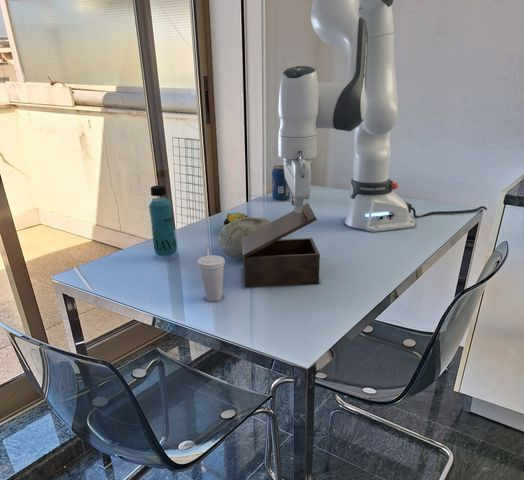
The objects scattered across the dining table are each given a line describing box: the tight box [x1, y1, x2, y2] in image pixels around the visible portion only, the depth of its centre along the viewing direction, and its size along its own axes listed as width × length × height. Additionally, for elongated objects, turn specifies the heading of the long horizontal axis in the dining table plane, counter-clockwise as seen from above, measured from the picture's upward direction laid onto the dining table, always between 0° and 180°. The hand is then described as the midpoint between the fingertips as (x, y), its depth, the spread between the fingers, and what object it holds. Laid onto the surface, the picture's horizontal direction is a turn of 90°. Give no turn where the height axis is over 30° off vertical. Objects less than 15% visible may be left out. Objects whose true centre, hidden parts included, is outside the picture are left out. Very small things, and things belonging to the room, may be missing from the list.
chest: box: [242, 237, 321, 289], centre depth 129 cm, size 19×12×8 cm, turn 94°
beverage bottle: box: [147, 184, 178, 257], centre depth 140 cm, size 6×7×20 cm
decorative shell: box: [217, 216, 272, 260], centre depth 142 cm, size 18×18×10 cm
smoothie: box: [197, 241, 226, 302], centre depth 117 cm, size 6×6×14 cm
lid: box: [241, 198, 318, 258], centre depth 124 cm, size 19×12×5 cm, turn 95°
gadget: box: [223, 211, 248, 226], centre depth 163 cm, size 6×13×6 cm, turn 174°
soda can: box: [271, 164, 291, 202], centre depth 191 cm, size 7×7×12 cm
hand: (296, 208), depth 122 cm, fingers closed on lid, 5 cm apart
